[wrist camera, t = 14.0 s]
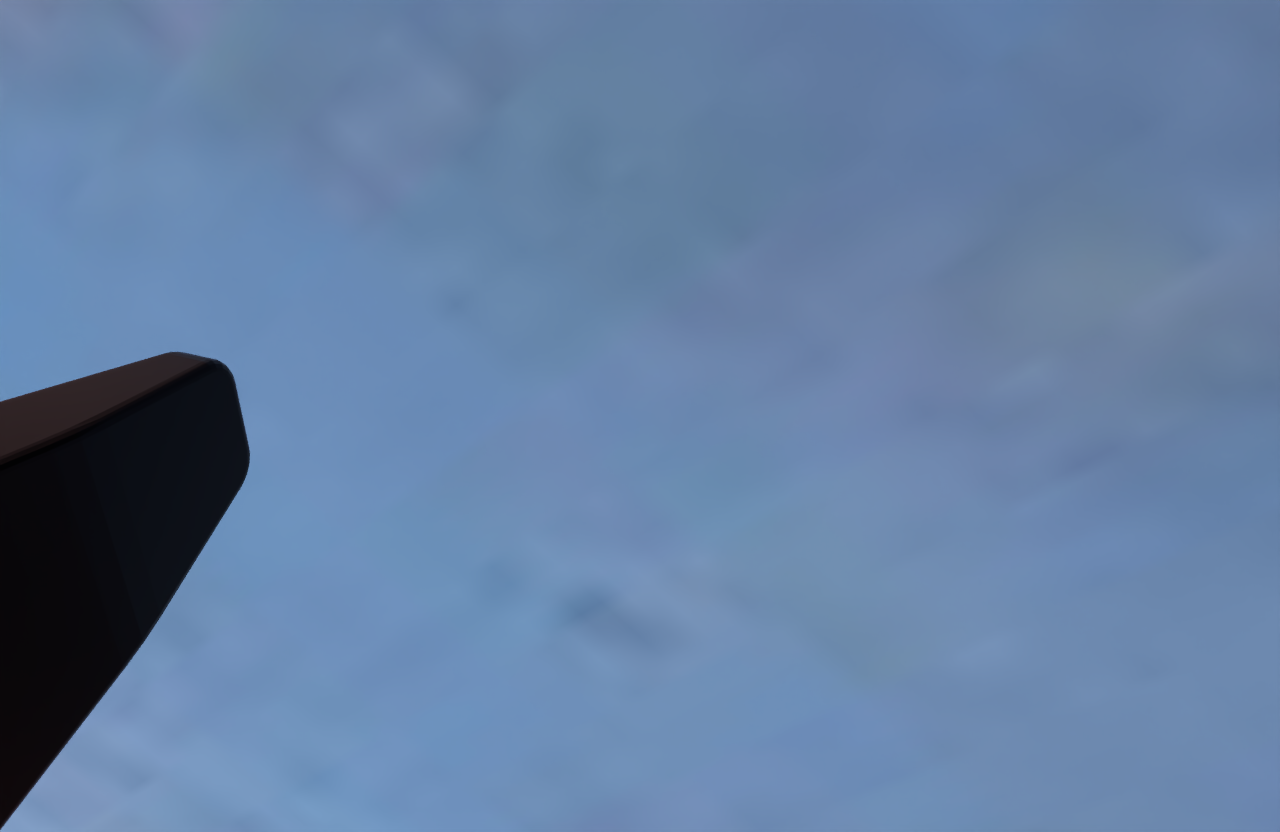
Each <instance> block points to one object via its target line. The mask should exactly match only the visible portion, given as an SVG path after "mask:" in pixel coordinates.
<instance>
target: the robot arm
mask: <svg viewBox="0 0 1280 832" xmlns="http://www.w3.org/2000/svg"><path fill="white" fill-rule="evenodd" d="M249 461H250V451H249V445H248V440H247V435H246V431H245V426H244V421H243V417H242V412H241V407H240V403H239V398H238V393H237V389H236V384H235V380H234V377H233V374H232V373H231V371H230V370H229V368H228V367H227V366H226V365H225V364H223V363H222V362H220V361H218V360H215V359H211V358H206V357H202V356H197V355H193V354H188V353H183V352H169V353H165V354H161V355H158V356H154V357H151V358H148V359H144V360H141V361H137V362H134V363H131V364H127V365H124V366H120V367H117V368H114V369H110V370H107V371H103V372H100V373H97V374H93V375H90V376H86V377H83V378H80V379H76V380H73V381H69V382H66V383H62V384H59V385H56V386H52V387H49V388H45V389H42V390H39V391H35V392H32V393H28V394H25V395H22V396H18V397H15V398H11V399H8V400H5V401H1V402H0V830H1V828H2V827H3V826H4V825H5V823H6V822H7V821H8V819H9V818H10V817H11V815H12V814H13V813H14V812H15V810H16V809H17V808H18V806H19V805H20V804H21V802H22V801H23V800H24V799H25V797H26V796H27V795H28V793H29V792H30V791H31V789H32V788H33V787H34V786H35V784H36V783H37V782H38V780H39V779H40V778H41V776H42V775H43V774H44V773H45V771H46V770H47V769H48V767H49V766H50V765H51V763H52V762H53V761H54V760H55V758H56V757H57V756H58V754H59V753H60V752H61V751H62V749H63V748H64V747H65V745H66V744H67V743H68V741H69V740H70V739H71V738H72V736H73V735H74V734H75V732H76V731H77V730H78V728H79V727H80V726H81V725H82V723H83V722H84V721H85V719H86V718H87V717H88V715H89V714H90V713H91V712H92V710H93V709H94V708H95V706H96V705H97V704H98V702H99V701H100V700H101V699H102V697H103V696H104V695H105V693H106V692H107V691H108V689H109V688H110V687H111V686H112V684H113V683H114V682H115V680H116V679H117V678H118V676H119V675H120V674H121V673H122V671H123V670H124V669H125V667H126V666H127V665H128V663H129V662H130V660H131V659H132V658H133V656H134V655H135V654H136V652H137V651H138V650H139V648H140V647H141V645H142V644H143V643H144V641H145V640H146V638H147V637H148V635H149V634H150V632H151V631H152V629H153V627H154V626H155V624H156V623H157V621H158V620H159V618H160V617H161V615H162V614H163V612H164V611H165V609H166V607H167V606H168V604H169V602H170V601H171V599H172V598H173V596H174V594H175V593H176V591H177V590H178V588H179V586H180V585H181V583H182V582H183V580H184V578H185V577H186V575H187V573H188V572H189V570H190V569H191V567H192V565H193V564H194V562H195V561H196V559H197V557H198V556H199V554H200V553H201V551H202V549H203V548H204V546H205V544H206V543H207V541H208V540H209V538H210V536H211V535H212V533H213V532H214V530H215V528H216V527H217V525H218V524H219V522H220V520H221V519H222V517H223V515H224V514H225V512H226V511H227V509H228V507H229V506H230V504H231V503H232V501H233V499H234V498H235V496H236V495H237V493H238V491H239V490H240V488H241V486H242V484H243V482H244V480H245V478H246V475H247V472H248V467H249Z"/></svg>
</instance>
